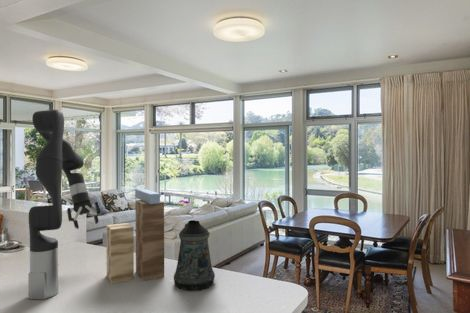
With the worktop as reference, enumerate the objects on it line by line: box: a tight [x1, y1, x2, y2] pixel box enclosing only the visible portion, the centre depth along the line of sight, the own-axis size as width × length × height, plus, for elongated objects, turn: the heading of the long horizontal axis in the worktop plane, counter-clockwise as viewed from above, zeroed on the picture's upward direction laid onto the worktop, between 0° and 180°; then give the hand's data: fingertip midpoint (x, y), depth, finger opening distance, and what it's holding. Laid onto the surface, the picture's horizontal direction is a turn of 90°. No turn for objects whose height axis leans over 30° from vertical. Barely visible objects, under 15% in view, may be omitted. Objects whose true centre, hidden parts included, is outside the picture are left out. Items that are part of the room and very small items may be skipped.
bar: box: [134, 188, 161, 204], centre depth 150 cm, size 24×4×4 cm, turn 31°
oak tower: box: [105, 222, 135, 284], centre depth 143 cm, size 10×9×22 cm
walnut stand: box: [134, 199, 165, 282], centre depth 147 cm, size 12×9×32 cm
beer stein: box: [173, 220, 216, 292], centre depth 137 cm, size 16×19×25 cm
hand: (87, 226), depth 160 cm, fingers open, 8 cm apart
